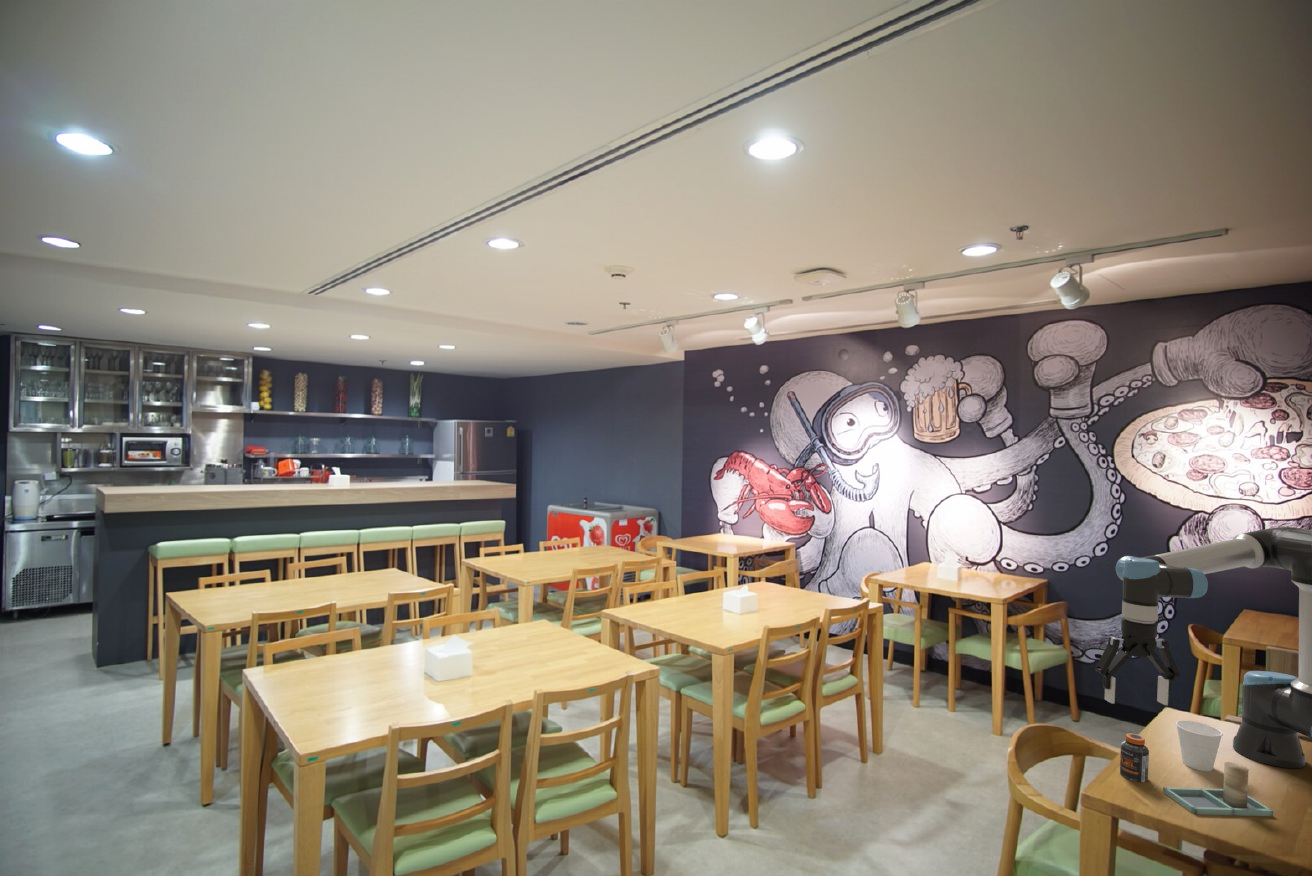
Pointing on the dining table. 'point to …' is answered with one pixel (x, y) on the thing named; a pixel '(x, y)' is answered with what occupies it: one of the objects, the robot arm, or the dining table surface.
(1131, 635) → the robot arm
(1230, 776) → the beech dowel
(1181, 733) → the cup
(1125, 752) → the pill bottle
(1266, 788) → the dining table surface
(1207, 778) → the dining table surface
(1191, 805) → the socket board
